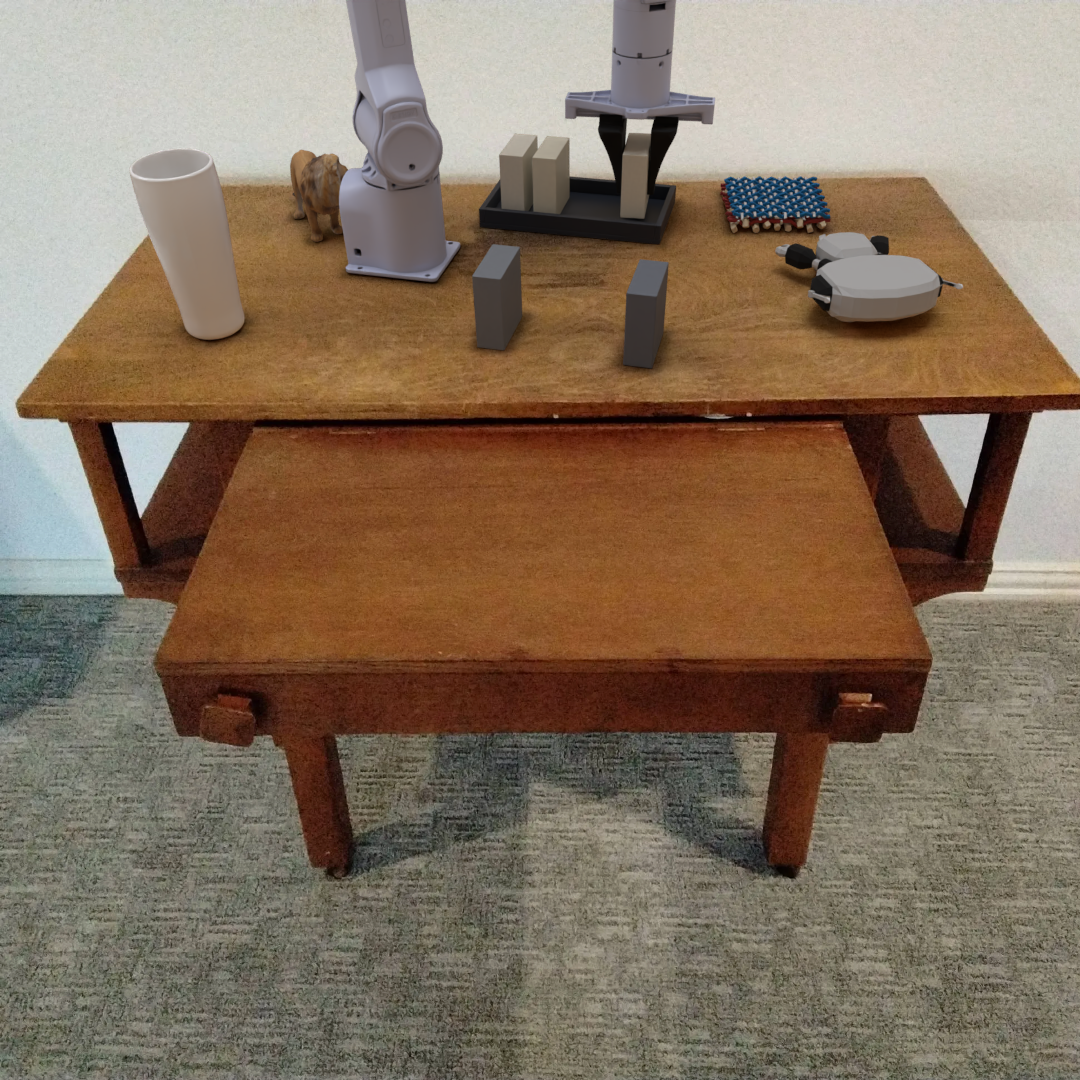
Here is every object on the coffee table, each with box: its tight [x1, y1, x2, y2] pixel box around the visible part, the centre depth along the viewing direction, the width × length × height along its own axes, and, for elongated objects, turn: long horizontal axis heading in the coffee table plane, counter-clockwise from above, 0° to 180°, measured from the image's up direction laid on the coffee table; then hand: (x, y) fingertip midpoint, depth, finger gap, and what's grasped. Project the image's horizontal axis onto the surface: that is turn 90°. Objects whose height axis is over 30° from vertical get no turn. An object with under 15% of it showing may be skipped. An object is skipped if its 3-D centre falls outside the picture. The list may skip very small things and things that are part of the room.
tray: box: [478, 176, 677, 245], centre depth 104 cm, size 19×10×2 cm, turn 75°
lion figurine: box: [289, 149, 349, 243], centre depth 101 cm, size 15×5×9 cm, turn 33°
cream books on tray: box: [498, 132, 571, 214], centre depth 103 cm, size 6×6×6 cm
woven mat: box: [719, 175, 832, 234], centre depth 103 cm, size 10×11×2 cm
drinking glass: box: [128, 147, 246, 341], centre depth 83 cm, size 7×7×15 cm
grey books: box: [471, 243, 669, 369], centre depth 83 cm, size 16×6×7 cm, turn 75°
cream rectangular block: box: [620, 132, 651, 219], centre depth 100 cm, size 2×6×6 cm, turn 170°
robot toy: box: [774, 231, 964, 323], centre depth 89 cm, size 12×4×15 cm
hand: (635, 190), depth 101 cm, fingers closed on cream rectangular block, 2 cm apart
